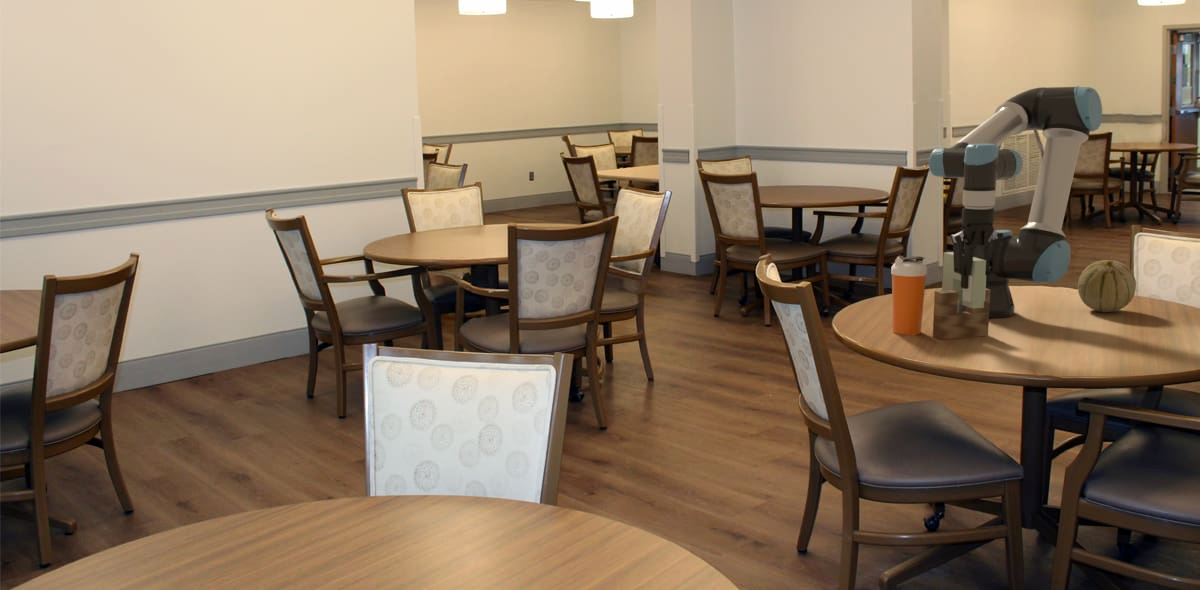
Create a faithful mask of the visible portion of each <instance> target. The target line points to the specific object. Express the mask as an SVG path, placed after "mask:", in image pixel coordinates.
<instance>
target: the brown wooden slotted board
mask: <svg viewBox="0 0 1200 590" xmlns="http://www.w3.org/2000/svg"><path fill="white" fill-rule="evenodd" d="M933 299H934V301H933V321H932V323H933V324H932V326H933V327H932V337H933V338H934V339H936V340H939V341H940V340H951V339H960V338H961V339H963V338H974V337H985V336H989V325H990V324H989V321H990V318H989V307H990V289H987V288H986V289H985V301H984V308H974V309H973V308H970V307H967V306H966V312H958V311H957V308H958V292H956V291H953V290H945V291H942V290H935V291H934V298H933Z"/></svg>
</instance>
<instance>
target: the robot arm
mask: <svg viewBox="0 0 1200 590" xmlns="http://www.w3.org/2000/svg"><path fill="white" fill-rule="evenodd" d="M1102 119H1103V105H1102V100H1101V97H1100V95H1099V93H1098V91H1097V90H1096V89H1095V88H1093V87H1090V86H1080V85H1076V86H1058V87H1057V86H1056V87H1055V86H1053V87H1051V86H1050V87H1044V86H1043V87H1036V88H1031V89H1027V90H1025V91H1022V92H1021V93H1019V94H1016V95H1014V96H1012V97H1011V98H1009V99H1007V100H1005V101H1004V102H1003V103H1001V104H1000V105H999V106H998V107H997V108H996V110H995V111H994V114H993V115H992V116H990V117H988V118H987V119H985V121H983V122H982V123H981V124H979V125H978V126H977V127H976V128H974V129H973V130H972V131H971V132H969V133H968V134H966V135H965V136H964V137H962V138H961V139H960V140H958V141H956V142H955V144H953V145H952V146H951V147H941V148H935V149H933V150H932V152H931V153H930V154H929V158H928V166H929V167H928V169H929V171H930V173H931V174H932V175H933V176H935V177H940V178H945V179H946V178H949V179H950V178H951V179H952V178H954V179H963V187H962V206H963V208H962V210H961V211H962V212H961V223H962V226H961V228H960V230H959V232H957V233H955V234H954V233H953V234H951V235H950V239H951V242H952V252H953V257H954V272H955V273H958V274H960V275H961V288H963V300H964V301H967V302H972V283H973V276H970V272H971V267H972V261H973V257H976V258H979V259H983V260H986V271H985V289H986V288H987V289H990V307H989V319H990V318H993V319H994V318H1007V317H1010V316H1011V317H1012V316H1014V314H1015V303H1014V300H1013V296H1012V293H1011V290H1010V280H1015V281H1025V282H1033V283H1036V284H1053V283H1056V282H1058V281H1060V279H1061V278H1063V276H1064V275H1065V273H1066V271H1067V269H1068V267H1069V264H1070V261H1071V256H1072V255H1071V251H1072V249H1071V246H1070V244H1069V242H1067V241H1066V238H1067V235H1065V233H1064V231H1063V230H1062V228H1063V224H1064V219H1065V214H1066V211H1067V206H1068V201H1069V197H1070V192H1071V187H1072V183H1073V180H1074V175H1075V170H1076V166H1077V162H1078V158H1079V153H1080V149H1081V146H1082V144H1084V143H1086V142H1087V141H1088V140H1089V136H1090V133H1091V132H1095V131H1097V130H1099V127H1100V126H1101V124H1102ZM1039 130H1040V131H1042V132H1041V134H1042V136H1043V137H1044V138H1045V140H1046V141H1045V144H1044V145H1045V146H1044V150H1043V153H1042V159H1041V163H1040V168H1039V172H1038V176H1037V179H1036V180H1037V181H1036V183H1035V184H1036V185H1035V189H1034V194H1033V198H1032V203H1031V207H1030V211H1029V215H1028V221H1027V224H1025V225H1024V226H1023V227H1020V229H1019V233H1018V236H1014V235H1013V232H1012V230H1010V229H1009V230H1008V229H999V230H998V229H996V230H995V229H994V228H995V227H994V225H993V224H994V222H995V212H996V211H995V209H994V208H993V207H994V206H996V191H997V190H996V187H997V181H1003V180H1005V181H1007V180H1010V179H1012V178H1015V177H1016V176H1018V175H1019V174H1020V173H1021V171H1022V168H1023V165H1024V164H1023V163H1024V162H1023V157H1022V156H1021V154H1020V153H1019V152H1018V151H1017V150H1014V149H1013V148H1012V149H1011V148H1001V149H999V146H1001V145H1002V144H1003V143H1004V142H1006V141H1007V140H1008V139H1010V138H1011V137H1012V136H1017V135H1019V134H1022V133H1023V132H1025V131H1039ZM963 241H964V243H963ZM963 254H964V255H963ZM984 301H985V291H984ZM957 312H966V306H964V305H962V301H958V308H957Z"/></svg>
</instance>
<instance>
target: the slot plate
mask: <svg viewBox="0 0 1200 590" xmlns="http://www.w3.org/2000/svg"><path fill="white" fill-rule="evenodd" d="M963 255H964V253H963ZM942 257H943V258H942V259H943V261H942V283H941V285H942V286H941V291H945V290H953V291H956V292H958V301H962V305H964V306H967V307H970V308H973V309H974V308H984V291H985V271H986V260H983V259H979V258H976V257H973V261H972V267H971V272H970V276H973V283H972V302H967V301H964V300H963V288H961V275H960V274H958V273H955V272H954V257H953V251H945V252H943V256H942Z"/></svg>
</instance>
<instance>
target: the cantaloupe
mask: <svg viewBox="0 0 1200 590" xmlns="http://www.w3.org/2000/svg"><path fill="white" fill-rule="evenodd" d="M1077 283H1078V284H1077V290H1078V295H1079V297H1080V300H1081V301H1082V302H1083V303H1084V304H1085V306H1086V307H1088V308H1089V309H1091V310H1094V311H1096V312H1101V313H1113V312H1118V311H1120V310H1122V309H1124V308H1125V307H1127V306H1129V304H1130V303H1131V302H1132V300H1133V298H1134V297H1135V293H1136V289H1137V280H1136V277H1135V275H1134V273H1133V272H1132V270H1131V269H1130V268H1129V267H1128V266H1127V265H1125V264H1124V263H1123V262H1121V261H1118V260H1114V259H1109V260H1108V259H1103V260H1097V261H1095V262H1092V263H1091V264H1089V265H1088V266H1087V267H1086V268H1085V269H1084V270H1083V271H1081V274H1080V276H1079V279H1078V282H1077Z"/></svg>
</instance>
